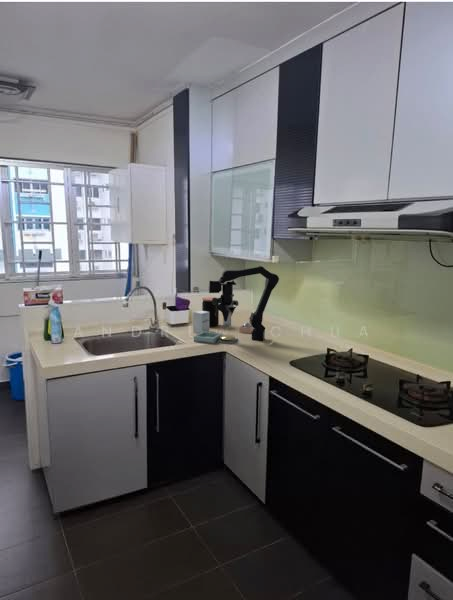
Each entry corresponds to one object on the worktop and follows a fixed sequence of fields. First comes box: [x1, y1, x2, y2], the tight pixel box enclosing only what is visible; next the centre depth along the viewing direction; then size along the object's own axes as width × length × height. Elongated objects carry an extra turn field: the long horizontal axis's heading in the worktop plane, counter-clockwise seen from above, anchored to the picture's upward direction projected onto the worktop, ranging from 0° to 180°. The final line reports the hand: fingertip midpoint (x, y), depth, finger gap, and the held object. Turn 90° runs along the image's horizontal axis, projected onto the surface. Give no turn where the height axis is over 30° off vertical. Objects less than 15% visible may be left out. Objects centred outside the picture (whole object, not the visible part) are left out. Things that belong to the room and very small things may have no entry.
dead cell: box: [243, 321, 251, 328], centre depth 243 cm, size 4×4×6 cm
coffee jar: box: [201, 296, 220, 328], centre depth 260 cm, size 11×11×18 cm
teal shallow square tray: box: [193, 331, 223, 345], centre depth 226 cm, size 12×12×3 cm
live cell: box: [222, 311, 232, 328], centre depth 222 cm, size 4×4×9 cm
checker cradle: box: [216, 337, 238, 345], centre depth 224 cm, size 9×9×2 cm
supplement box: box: [192, 310, 210, 334], centre depth 243 cm, size 7×7×13 cm
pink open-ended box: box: [238, 323, 254, 335], centre depth 243 cm, size 7×7×4 cm
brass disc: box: [220, 334, 236, 340], centre depth 224 cm, size 8×8×1 cm
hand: (227, 320), depth 222 cm, fingers closed on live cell, 4 cm apart
